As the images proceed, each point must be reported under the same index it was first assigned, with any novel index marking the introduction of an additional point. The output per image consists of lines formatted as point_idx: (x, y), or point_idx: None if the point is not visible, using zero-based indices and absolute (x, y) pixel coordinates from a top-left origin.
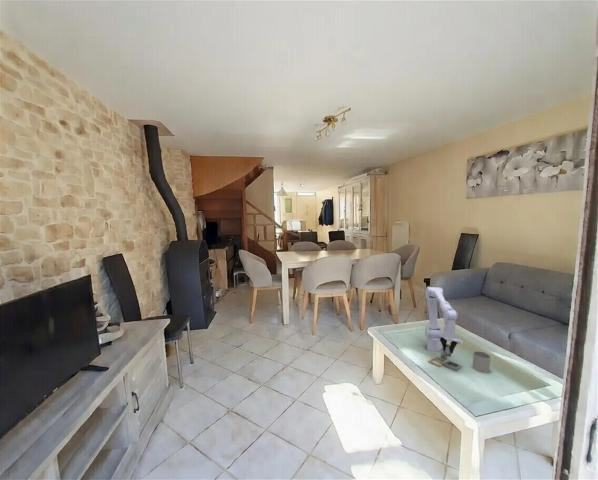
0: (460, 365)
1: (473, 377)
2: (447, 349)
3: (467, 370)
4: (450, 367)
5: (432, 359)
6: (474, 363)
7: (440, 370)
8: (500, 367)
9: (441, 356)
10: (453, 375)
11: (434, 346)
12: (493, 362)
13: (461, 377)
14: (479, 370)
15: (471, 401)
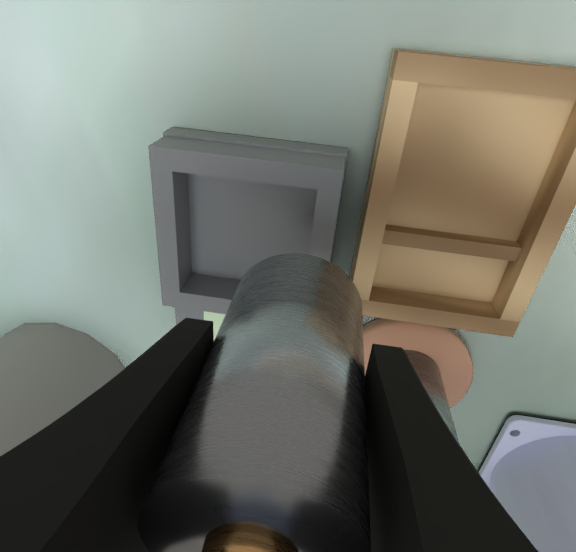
0: (164, 292)
1: (14, 189)
2: (268, 372)
3: (132, 302)
4: (244, 151)
5: (551, 211)
6: (48, 402)
7: (367, 5)
8: None
9: (436, 377)
10: (167, 13)
11: (572, 521)
12: None
13: (77, 55)
14: (22, 343)
15: None
